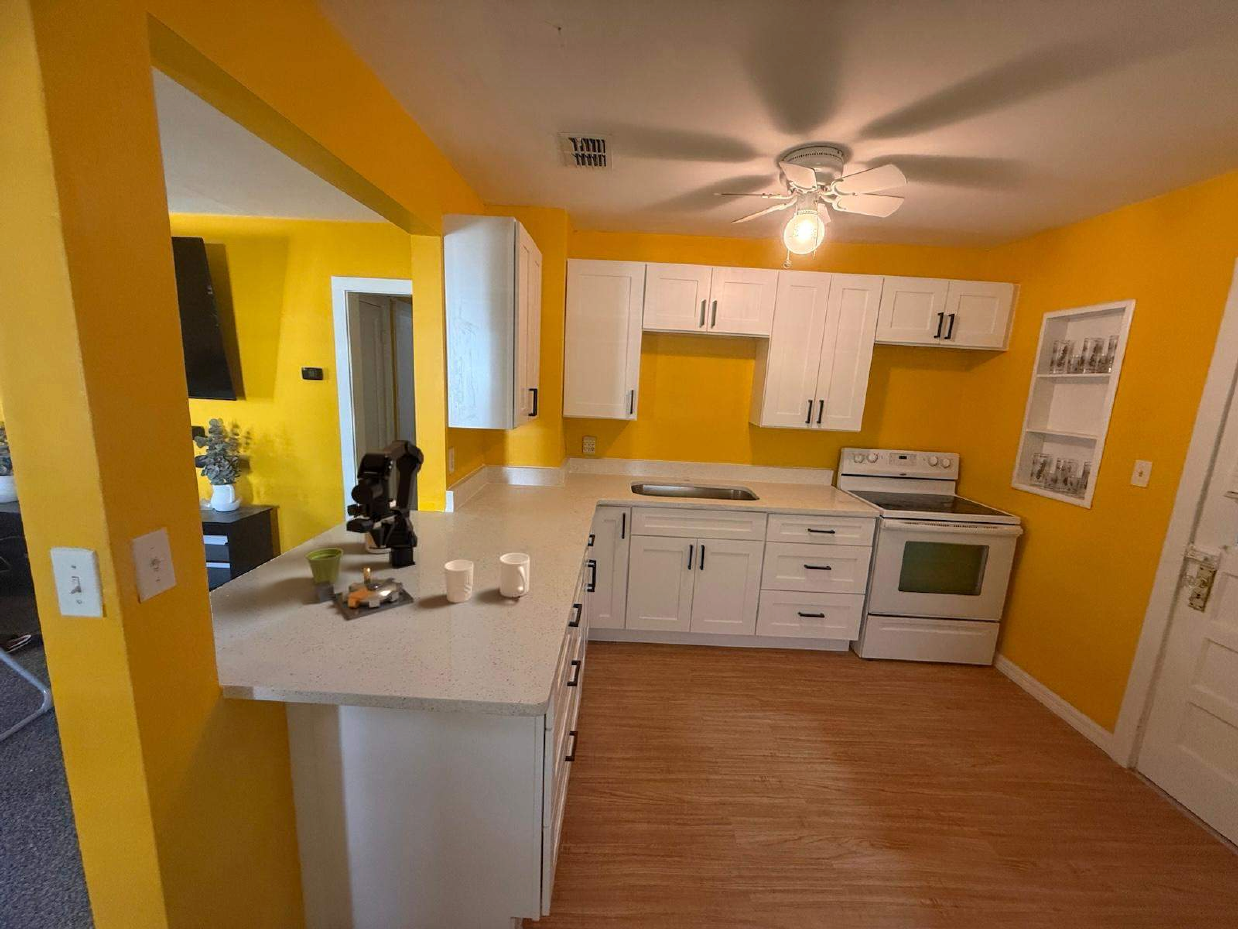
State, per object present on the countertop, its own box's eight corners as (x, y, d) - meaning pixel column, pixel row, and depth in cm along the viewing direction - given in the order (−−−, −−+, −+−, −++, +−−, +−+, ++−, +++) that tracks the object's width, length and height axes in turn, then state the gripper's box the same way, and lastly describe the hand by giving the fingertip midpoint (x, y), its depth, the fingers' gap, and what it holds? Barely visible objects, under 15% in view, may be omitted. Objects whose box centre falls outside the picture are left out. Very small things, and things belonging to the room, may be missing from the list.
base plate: (393, 582, 140) (393, 579, 140) (413, 602, 129) (413, 598, 128) (333, 597, 129) (333, 594, 129) (349, 620, 117) (349, 616, 117)
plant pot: (327, 589, 133) (325, 561, 132) (299, 585, 135) (297, 557, 133) (351, 576, 142) (350, 550, 141) (325, 572, 144) (324, 546, 142)
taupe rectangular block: (329, 593, 131) (328, 580, 130) (334, 600, 127) (333, 586, 127) (315, 597, 129) (314, 583, 128) (319, 603, 125) (318, 590, 124)
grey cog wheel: (392, 579, 139) (391, 560, 138) (411, 597, 128) (410, 577, 127) (336, 592, 128) (335, 572, 127) (351, 613, 118) (350, 591, 117)
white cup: (479, 594, 135) (479, 562, 133) (461, 606, 128) (461, 572, 126) (457, 589, 138) (456, 558, 136) (438, 600, 130) (438, 567, 129)
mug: (509, 605, 130) (509, 570, 128) (495, 588, 139) (496, 555, 138) (537, 599, 134) (538, 564, 132) (522, 583, 144) (523, 551, 142)
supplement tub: (409, 547, 168) (408, 503, 165) (377, 557, 158) (375, 510, 155) (390, 540, 175) (389, 497, 172) (358, 549, 164) (356, 503, 162)
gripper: (380, 486, 144) (382, 533, 147) (328, 499, 127) (331, 553, 129) (410, 490, 141) (411, 538, 144) (361, 504, 124) (364, 559, 126)
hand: (380, 546), depth 136 cm, fingers closed
